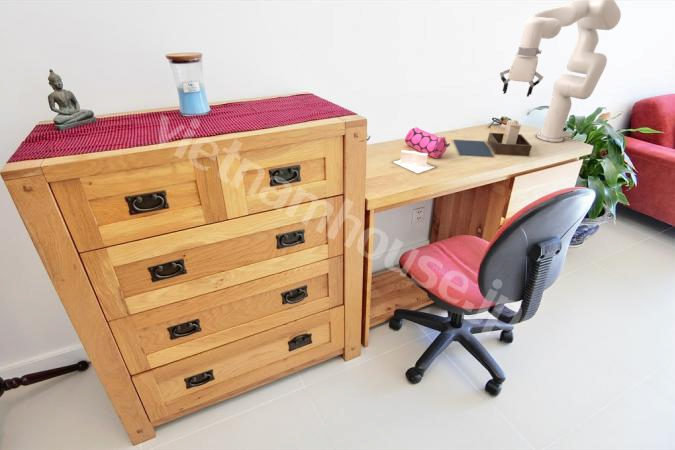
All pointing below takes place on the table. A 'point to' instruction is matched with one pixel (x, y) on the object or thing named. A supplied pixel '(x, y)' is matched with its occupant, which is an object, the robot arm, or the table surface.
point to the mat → (472, 148)
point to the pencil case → (426, 142)
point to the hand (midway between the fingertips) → (516, 94)
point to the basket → (509, 145)
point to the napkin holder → (414, 161)
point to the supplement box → (511, 132)
